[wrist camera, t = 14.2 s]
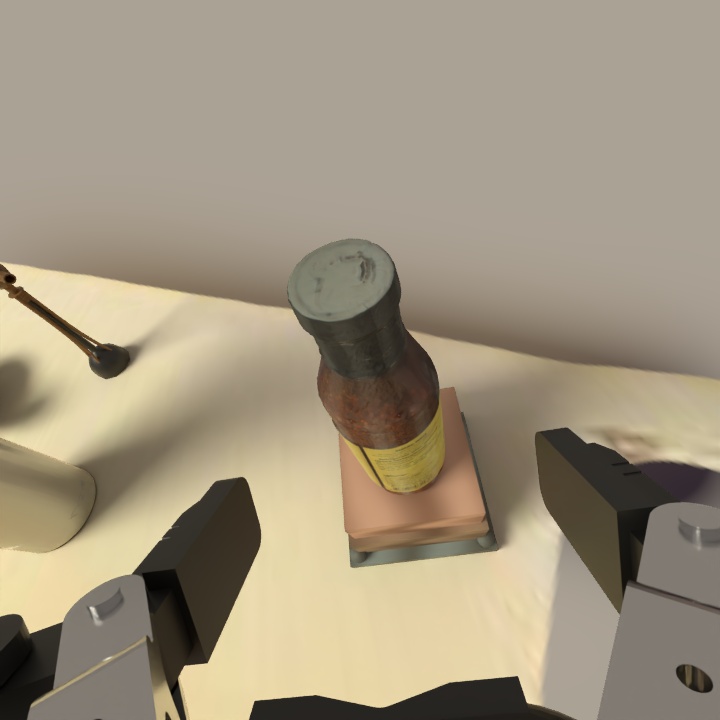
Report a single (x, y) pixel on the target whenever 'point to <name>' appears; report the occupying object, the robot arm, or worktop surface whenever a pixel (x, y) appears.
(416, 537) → the copper and grey block
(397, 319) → the sauce bottle
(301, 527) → the worktop surface
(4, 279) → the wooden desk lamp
